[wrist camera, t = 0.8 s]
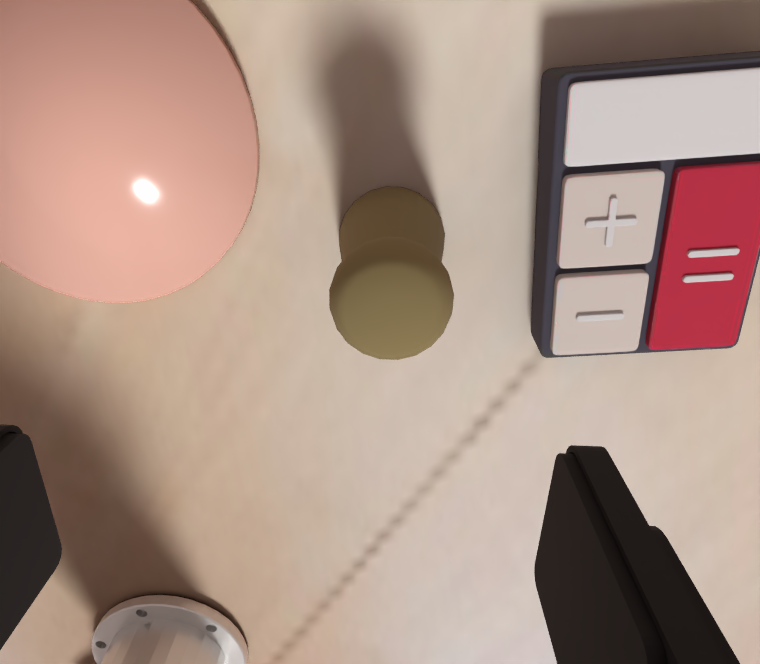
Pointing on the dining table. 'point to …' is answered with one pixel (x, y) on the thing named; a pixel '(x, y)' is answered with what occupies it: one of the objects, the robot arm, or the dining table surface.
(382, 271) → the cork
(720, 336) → the calculator
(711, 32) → the dining table surface
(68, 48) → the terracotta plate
